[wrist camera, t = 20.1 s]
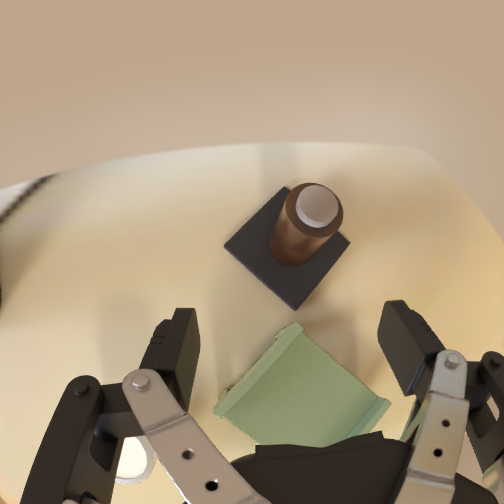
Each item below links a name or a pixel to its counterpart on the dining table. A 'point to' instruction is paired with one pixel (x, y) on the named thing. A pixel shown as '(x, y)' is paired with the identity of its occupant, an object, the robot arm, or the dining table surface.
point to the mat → (268, 268)
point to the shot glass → (135, 461)
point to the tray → (300, 396)
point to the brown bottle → (305, 223)
